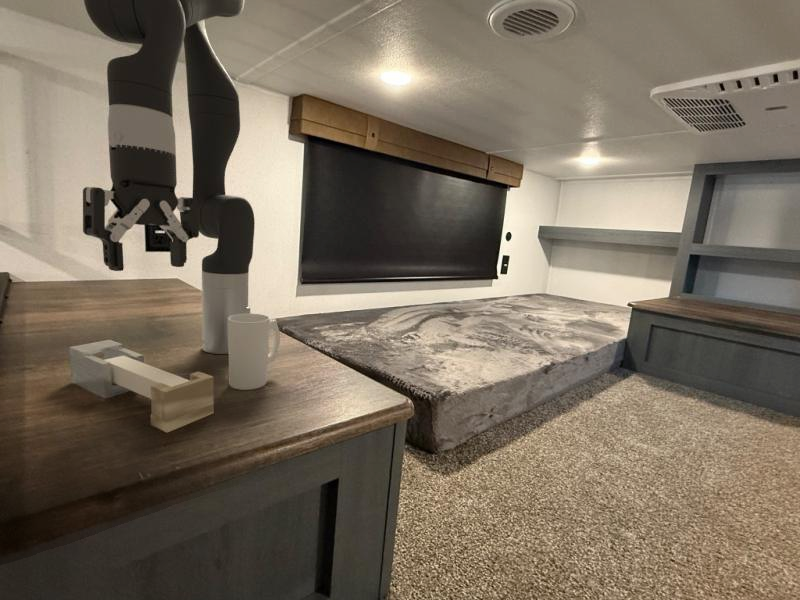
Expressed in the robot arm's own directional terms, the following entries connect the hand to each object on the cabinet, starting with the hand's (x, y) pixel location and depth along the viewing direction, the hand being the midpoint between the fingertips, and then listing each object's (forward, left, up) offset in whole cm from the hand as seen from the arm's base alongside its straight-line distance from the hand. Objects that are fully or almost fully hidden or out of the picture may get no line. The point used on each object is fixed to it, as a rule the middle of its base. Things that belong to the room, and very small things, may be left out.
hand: (148, 268), depth 55 cm
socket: (-4, +6, -21) cm, 22 cm away
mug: (-16, -4, -21) cm, 27 cm away
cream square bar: (+1, -1, -19) cm, 19 cm away
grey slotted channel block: (+6, -10, -21) cm, 24 cm away
